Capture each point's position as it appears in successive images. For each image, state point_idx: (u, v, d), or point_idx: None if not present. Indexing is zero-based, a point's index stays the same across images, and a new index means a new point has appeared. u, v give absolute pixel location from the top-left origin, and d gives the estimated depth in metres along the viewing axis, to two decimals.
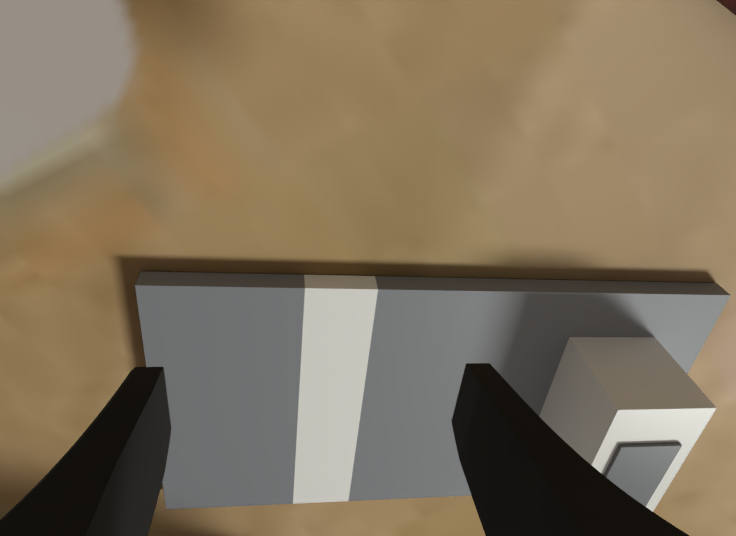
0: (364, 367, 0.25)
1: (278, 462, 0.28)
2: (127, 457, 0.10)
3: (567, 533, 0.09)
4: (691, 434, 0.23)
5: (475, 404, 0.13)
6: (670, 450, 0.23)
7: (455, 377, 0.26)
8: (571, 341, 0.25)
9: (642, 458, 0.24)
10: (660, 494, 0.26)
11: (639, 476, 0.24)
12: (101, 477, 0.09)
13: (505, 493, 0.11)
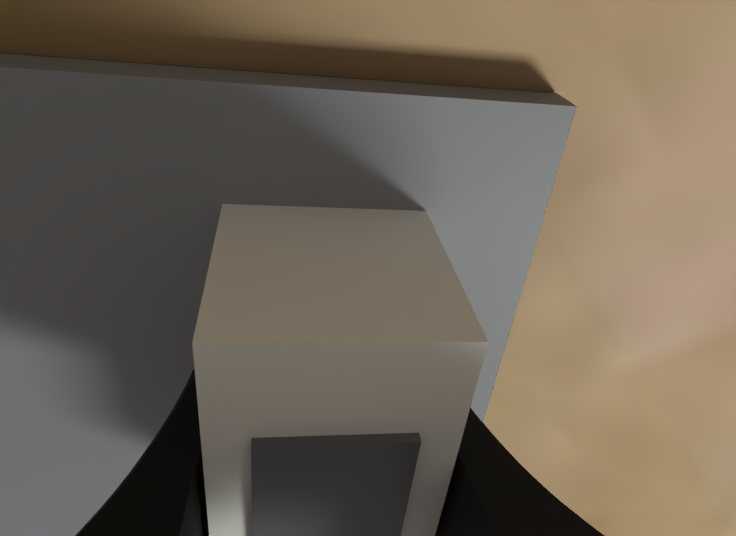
0: None
1: None
2: None
3: None
4: (444, 413, 0.09)
5: None
6: (395, 454, 0.09)
7: None
8: (221, 211, 0.11)
9: (325, 475, 0.09)
10: None
11: (341, 516, 0.10)
12: (184, 474, 0.09)
13: None
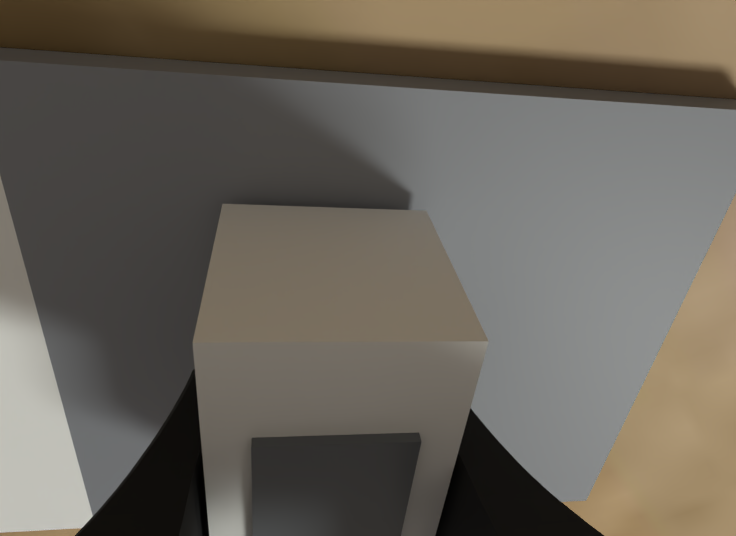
0: (17, 262, 0.12)
1: None
2: None
3: None
4: (444, 413, 0.09)
5: None
6: (396, 454, 0.09)
7: None
8: (221, 210, 0.11)
9: (325, 474, 0.09)
10: None
11: (341, 516, 0.10)
12: (184, 474, 0.09)
13: None
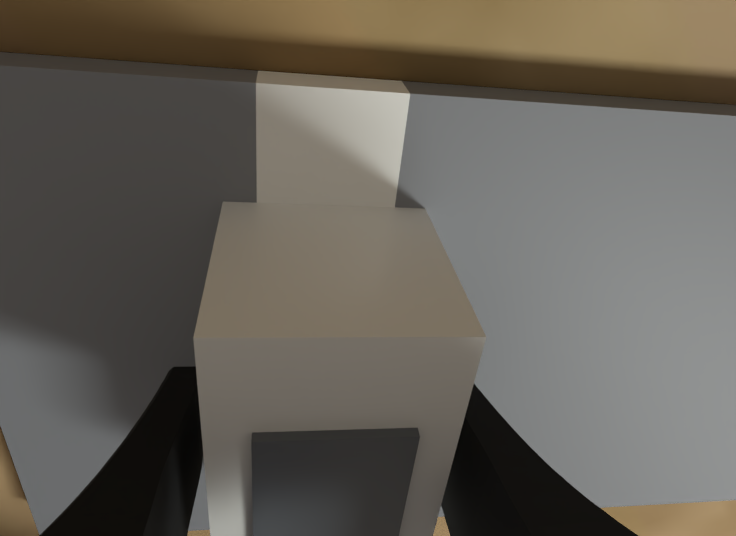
0: None
1: None
2: (173, 455, 0.10)
3: None
4: (443, 409, 0.09)
5: None
6: (394, 449, 0.09)
7: (546, 299, 0.14)
8: (221, 208, 0.11)
9: (325, 469, 0.10)
10: None
11: (340, 511, 0.10)
12: (152, 475, 0.09)
13: (467, 495, 0.11)
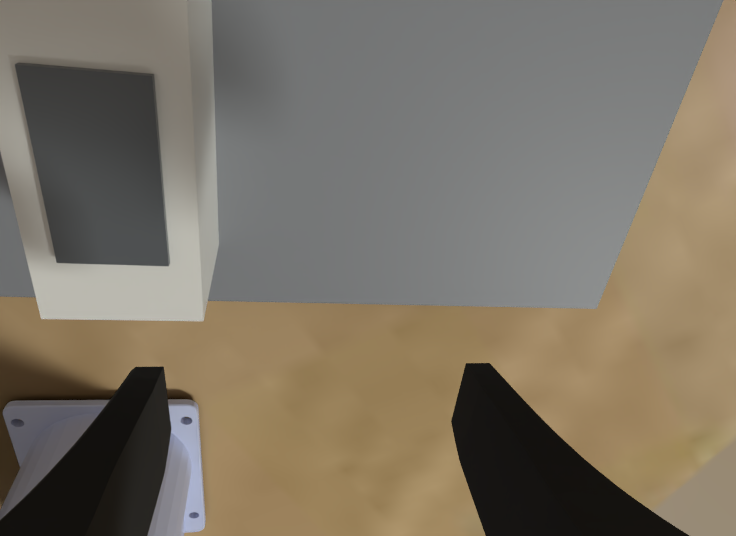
0: None
1: None
2: (127, 457, 0.10)
3: (567, 533, 0.09)
4: (170, 55, 0.12)
5: (475, 404, 0.13)
6: (134, 88, 0.12)
7: (332, 66, 0.17)
8: None
9: (82, 104, 0.12)
10: (190, 217, 0.14)
11: (106, 155, 0.13)
12: (101, 477, 0.09)
13: (505, 493, 0.11)
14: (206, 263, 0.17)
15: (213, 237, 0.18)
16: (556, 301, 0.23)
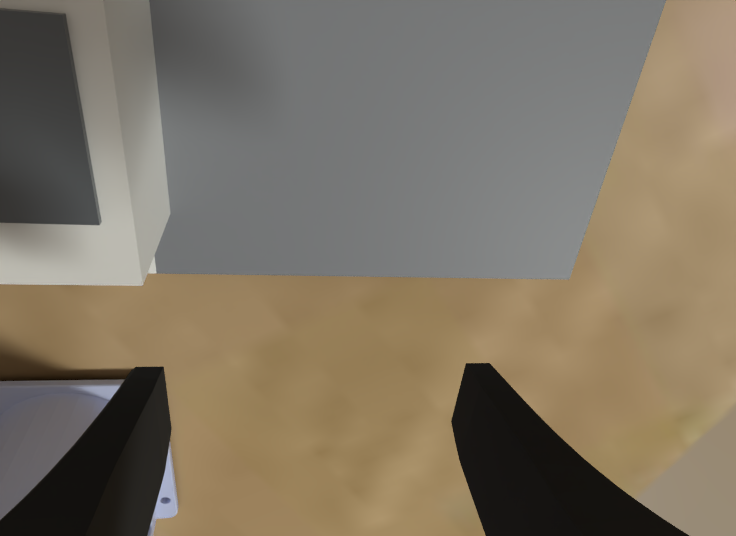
0: None
1: None
2: (127, 457, 0.10)
3: (567, 533, 0.09)
4: None
5: (475, 404, 0.13)
6: (44, 29, 0.12)
7: (276, 21, 0.17)
8: None
9: None
10: (119, 172, 0.14)
11: (21, 103, 0.12)
12: (101, 477, 0.09)
13: (505, 493, 0.11)
14: (146, 226, 0.16)
15: (159, 202, 0.18)
16: (526, 271, 0.23)
